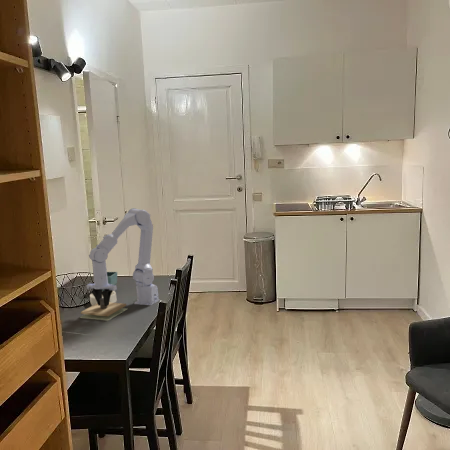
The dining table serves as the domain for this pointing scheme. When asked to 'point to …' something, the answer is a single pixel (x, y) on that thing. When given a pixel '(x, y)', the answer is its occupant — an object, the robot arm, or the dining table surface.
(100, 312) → the lid
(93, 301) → the bowl
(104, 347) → the dining table surface
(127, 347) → the dining table surface
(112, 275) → the flower pot
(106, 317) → the mat
